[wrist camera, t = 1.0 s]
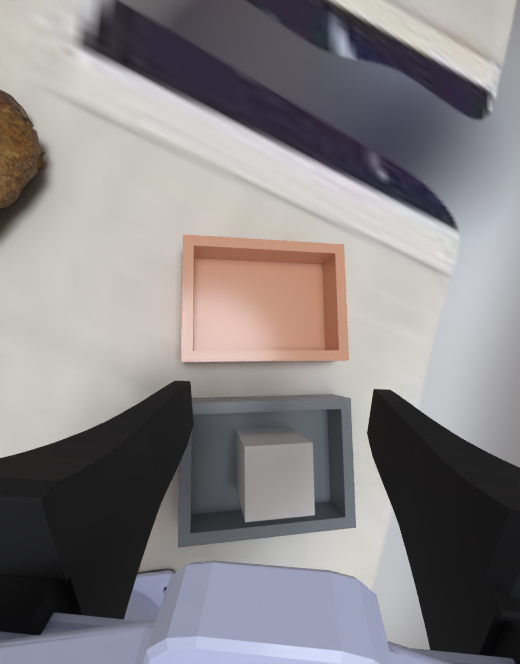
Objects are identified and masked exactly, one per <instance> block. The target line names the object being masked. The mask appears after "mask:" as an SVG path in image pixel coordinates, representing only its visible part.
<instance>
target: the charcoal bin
mask: <svg viewBox="0 0 520 664" xmlns="http://www.w3.org/2000/svg"><path fill="white" fill-rule="evenodd" d="M192 409H193V421H194V425H193V429H192V432H191V435H190V439H189V442H188V445H187V448H186V450H185V452H184V454H183V456H182V459H181V461H180V463H179V527H178V547H186V546H195V545H204V544H213V543H222V542H231V541H239V540H248V539H257V538H266V537H275V536H284V535H293V534H302V533H311V532H320V531H329V530H338V529H347V528H356V517H355V493H354V470H353V446H352V423H351V399H350V398H347V397H342V396H338V395H333V394H331V395H297V396H264V397H230V398H196V399H192ZM272 427H291V428H292V429H294V430H295V431H297V432H298V433H299V434H301V435H302V436H304V437H305V438H307V439H308V440H310V441H311V442H312V443H313V469H314V503H315V515H312V516H302V517H293V518H283V519H273V520H263V521H253V522H245V520H244V516H243V513H242V509H241V505H240V502H239V498H238V494H237V491H236V429H251V428H272Z"/></svg>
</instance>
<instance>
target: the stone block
mask: <svg viewBox="0 0 520 664" xmlns="http://www.w3.org/2000/svg"><path fill="white" fill-rule="evenodd" d="M236 491H237V494H238V498H239V502H240V505H241V509H242V513H243V516H244V520H245V522H253V521H263V520H273V519H283V518H293V517H302V516H312V515H315V503H314V469H313V443H312V442H311V441H310V440H308V439H307V438H305V437H304V436H302V435H301V434H299V433H298V432H297V431H295V430H294V429H292V428H291V427H272V428H251V429H236Z"/></svg>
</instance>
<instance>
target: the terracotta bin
mask: <svg viewBox="0 0 520 664" xmlns="http://www.w3.org/2000/svg"><path fill="white" fill-rule="evenodd" d="M346 360H349V352H348V329H347V305H346V282H345V258H344V245H342V244H326V243H310V242H294V241H278V240H261V239H245V238H229V237H213V236H197V235H183V269H182V334H181V362H184V363H187V362H294V361H346Z"/></svg>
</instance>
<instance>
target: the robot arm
mask: <svg viewBox="0 0 520 664" xmlns="http://www.w3.org/2000/svg"><path fill="white" fill-rule="evenodd" d="M193 425H194V421H193V409H192V397H191V385H190V381H174V382H172V383H170V384H169V385H167V386H165V387H164V388H162V389H161V390H159V391H157V392H156V393H154V394H153V395H151V396H150V397H148V398H146V399H145V400H143V401H142V402H140V403H138V404H137V405H135V406H133V407H131V408H130V409H128V410H126V411H124V412H123V413H121V414H119V415H118V416H116V417H114V418H112V419H110V420H108V421H106V422H104V423H102V424H99V425H97V426H95V427H93V428H91V429H88V430H86V431H84V432H81V433H79V434H76V435H73V436H71V437H68V438H66V439H63V440H61V441H58V442H55V443H52V444H49V445H46V446H43V447H40V448H36V449H33V450H30V451H26V452H23V453H19V454H16V455H12V456H8V457H3V458H0V664H520V468H519V467H517V466H515V465H513V464H510V463H508V462H506V461H504V460H502V459H500V458H498V457H496V456H494V455H492V454H489V453H487V452H486V451H484V450H482V449H480V448H478V447H476V446H475V445H473V444H471V443H469V442H467V441H466V440H464V439H462V438H460V437H459V436H457V435H455V434H454V433H452V432H450V431H449V430H448V429H446V428H444V427H443V426H441V425H440V424H438V423H437V422H435V421H434V420H432V419H431V418H429V417H428V416H427V415H425V414H424V413H422V412H421V411H420V410H418V409H417V408H415V407H414V406H413V405H411V404H410V403H409V402H407V401H406V400H404V399H403V398H402V397H400V396H399V395H397V394H396V393H394V392H393V391H391V390H382V389H374V391H373V397H372V404H371V411H370V418H369V424H368V431H367V435H368V439H369V444H370V448H371V452H372V456H373V459H374V461H375V464H376V467H377V469H378V472H379V474H380V477H381V479H382V482H383V485H384V487H385V490H386V492H387V495H388V497H389V500H390V502H391V505H392V507H393V510H394V512H395V515H396V518H397V521H398V524H399V527H400V530H401V534H402V538H403V541H404V545H405V548H406V552H407V555H408V559H409V563H410V567H411V571H412V575H413V578H414V582H415V586H416V590H417V594H418V598H419V603H420V606H421V611H422V615H423V619H424V623H425V628H426V631H427V636H428V641H429V646H430V650H423V649H413V648H407V647H404V646H401V645H398V644H395V643H392V642H389V641H387V638H386V634H385V630H384V625H383V622H382V617H381V613H380V609H379V605H378V600H377V596H376V594H375V593H374V592H372V591H371V590H370V589H369V588H368V587H366V586H365V585H364V584H363V583H361V582H360V581H359V580H358V579H356V578H355V577H352V576H349V575H345V574H341V573H337V572H334V571H330V570H318V569H306V568H294V567H283V566H271V565H259V564H247V563H235V562H223V561H207V562H197V563H191V564H189V565H187V566H185V567H184V568H182V569H181V570H179V571H178V572H176V573H174V572H173V571H170V570H167V571H159V572H151V573H143V574H137V573H138V570H139V567H140V564H141V560H142V557H143V554H144V551H145V548H146V545H147V542H148V539H149V536H150V533H151V530H152V527H153V524H154V521H155V518H156V516H157V513H158V510H159V507H160V505H161V502H162V500H163V497H164V495H165V493H166V491H167V489H168V487H169V484H170V482H171V480H172V478H173V476H174V474H175V472H176V469H177V467H178V465H179V463H180V461H181V459H182V456H183V454H184V452H185V450H186V448H187V445H188V442H189V439H190V435H191V432H192V429H193ZM166 586H167V588H166V590H165V589H164V588H165V587H166Z"/></svg>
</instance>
